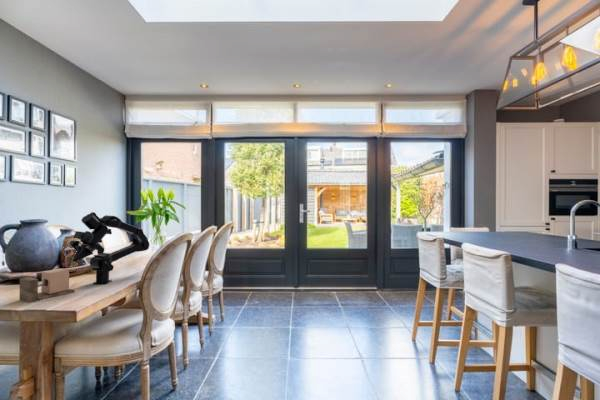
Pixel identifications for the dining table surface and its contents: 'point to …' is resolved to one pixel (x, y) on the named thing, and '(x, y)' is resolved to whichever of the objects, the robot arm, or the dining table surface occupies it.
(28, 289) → the stop block
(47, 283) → the bolt
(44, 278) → the pink box
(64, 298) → the dining table surface
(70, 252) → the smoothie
